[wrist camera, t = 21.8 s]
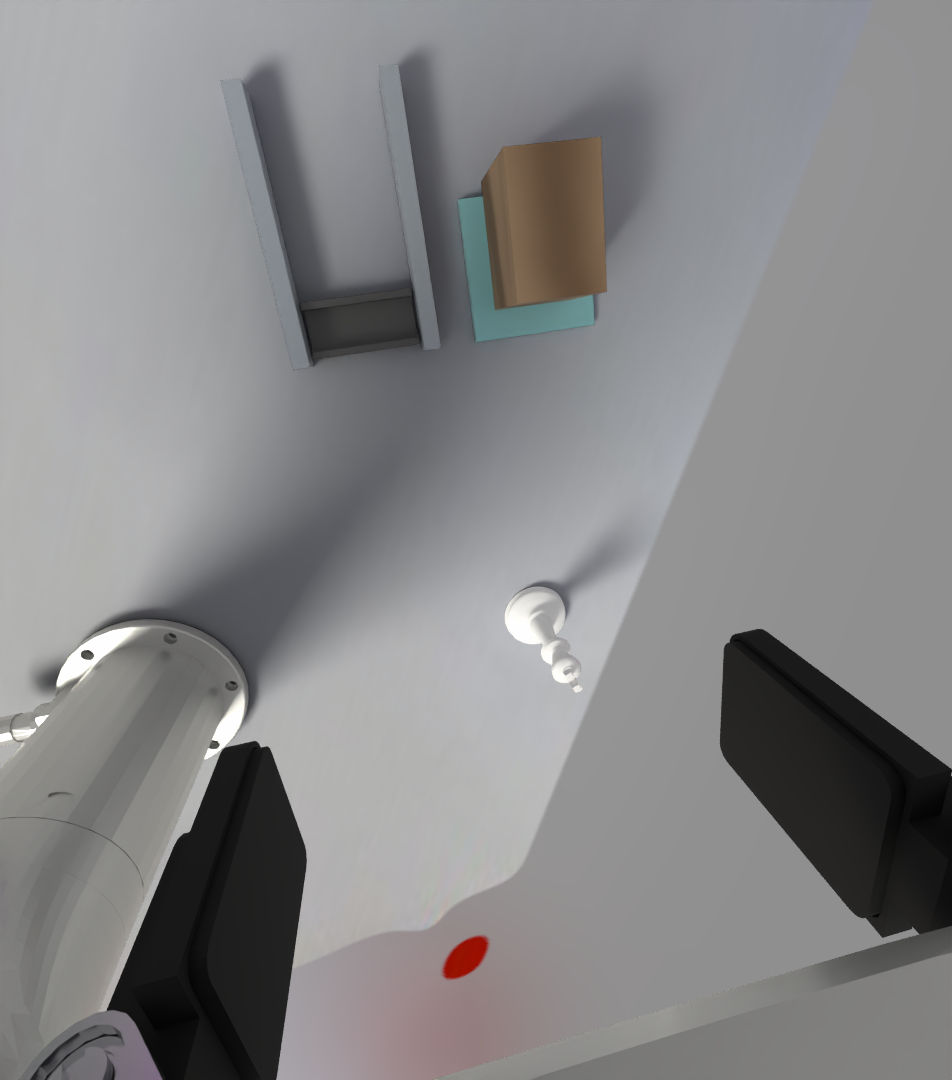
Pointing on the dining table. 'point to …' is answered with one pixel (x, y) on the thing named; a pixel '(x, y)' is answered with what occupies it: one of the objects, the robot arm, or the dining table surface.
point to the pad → (481, 292)
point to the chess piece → (543, 630)
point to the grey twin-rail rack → (353, 317)
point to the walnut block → (545, 222)
